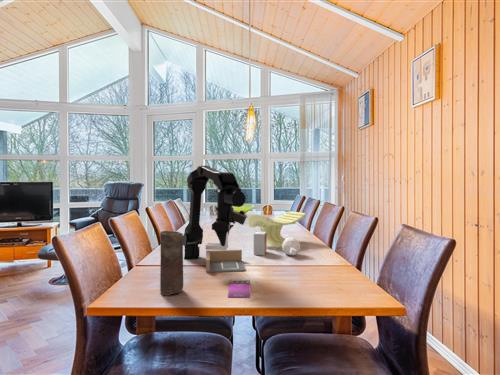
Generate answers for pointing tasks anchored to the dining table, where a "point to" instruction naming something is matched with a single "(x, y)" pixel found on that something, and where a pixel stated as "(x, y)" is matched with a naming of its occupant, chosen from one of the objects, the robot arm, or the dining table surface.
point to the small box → (260, 243)
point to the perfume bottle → (291, 246)
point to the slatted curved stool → (275, 225)
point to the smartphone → (239, 289)
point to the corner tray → (224, 261)
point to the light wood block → (217, 245)
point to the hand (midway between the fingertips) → (224, 244)
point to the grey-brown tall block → (171, 262)
